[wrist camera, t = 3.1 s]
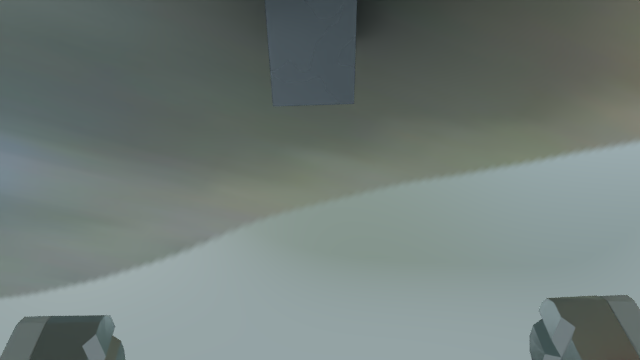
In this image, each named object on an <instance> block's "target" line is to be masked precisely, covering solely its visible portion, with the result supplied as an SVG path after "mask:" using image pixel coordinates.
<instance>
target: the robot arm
mask: <svg viewBox="0 0 640 360" xmlns="http://www.w3.org/2000/svg"><path fill="white" fill-rule="evenodd" d="M539 312H540V315H541V317H542V319H541V320H540V321H539V322H537V323H536V324H534V325H533V327H532V330H531V334H530V353H531V358H532V360H640V309H639V308H638V306H637V304H636V303H635V301H634V300H633V299H632V298H630V297H629V296H627V295H617V296H616V295H615V296H580V297H560V298H547V299H545V300H544V301H543V302H542V304H541V306H540V309H539ZM114 328H115V325H114V323H113V321H112V318H111V316H110V315H101V316H38V317H24V318H23V319H22V320H21V321H20V322H19V323H18V324H17V325H16V327H15V329H14V331H13V333H12V335H11V337H10V339H9V341H8V343H7V345H6V347H5V349H4V351H3V353H2V355H1V357H0V360H125V354H124V348H123V345H122V343H121V341H120V340H119V339H117V338H116V337H114V336H112V335H113V332H114Z"/></svg>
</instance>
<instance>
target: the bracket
mask: <svg viewBox="0 0 640 360" xmlns="http://www.w3.org/2000/svg"><path fill="white" fill-rule="evenodd" d="M265 11H266V23H267V36H268V48H269V61H270V74H271V86H272V99H273V106H300V105H331V104H354V83H355V49H356V15H357V0H265Z"/></svg>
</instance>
